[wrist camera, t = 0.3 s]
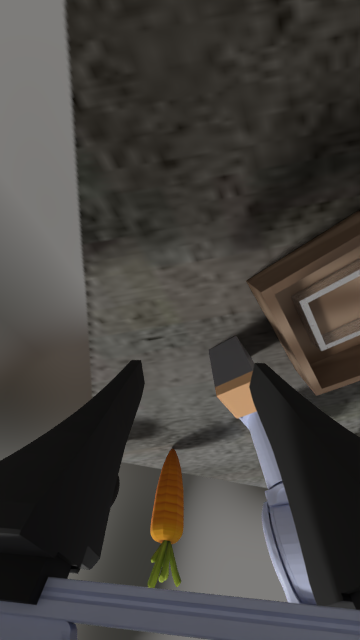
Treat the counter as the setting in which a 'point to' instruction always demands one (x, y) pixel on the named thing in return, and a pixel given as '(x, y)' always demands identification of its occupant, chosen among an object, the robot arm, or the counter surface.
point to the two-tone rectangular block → (233, 376)
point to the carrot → (167, 519)
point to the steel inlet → (318, 290)
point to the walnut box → (315, 305)
